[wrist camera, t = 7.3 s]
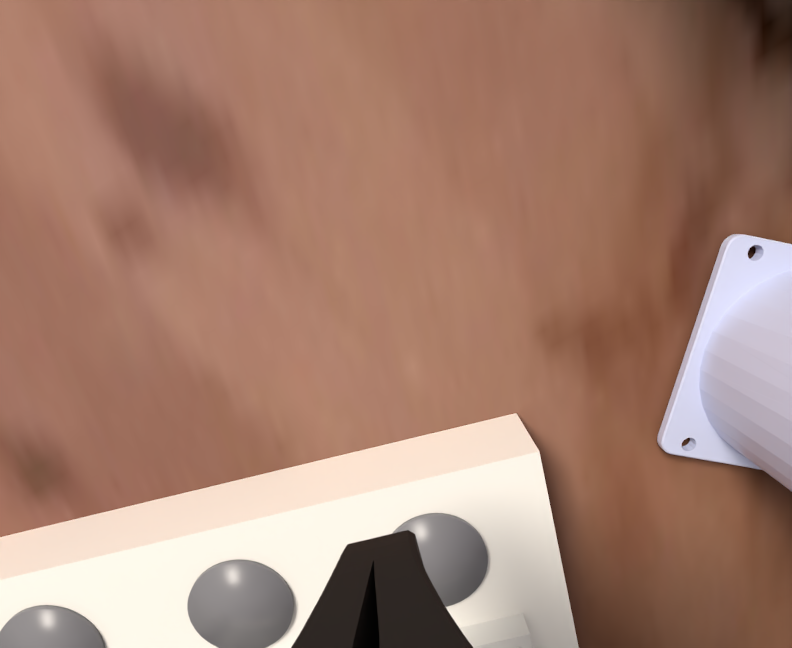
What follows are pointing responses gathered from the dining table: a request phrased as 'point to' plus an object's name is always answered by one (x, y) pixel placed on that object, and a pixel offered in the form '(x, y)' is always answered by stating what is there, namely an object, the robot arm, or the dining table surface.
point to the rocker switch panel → (300, 551)
